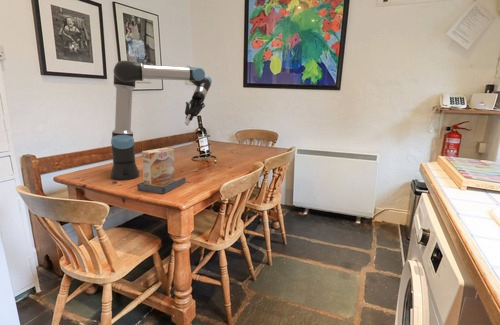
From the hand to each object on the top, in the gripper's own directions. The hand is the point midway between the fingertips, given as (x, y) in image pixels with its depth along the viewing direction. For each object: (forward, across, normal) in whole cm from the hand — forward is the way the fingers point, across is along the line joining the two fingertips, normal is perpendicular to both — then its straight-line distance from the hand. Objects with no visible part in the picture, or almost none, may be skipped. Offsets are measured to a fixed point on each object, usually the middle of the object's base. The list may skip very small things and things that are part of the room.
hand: (186, 124), depth 170 cm
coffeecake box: (+42, -1, 0) cm, 42 cm away
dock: (+42, -2, -1) cm, 42 cm away
